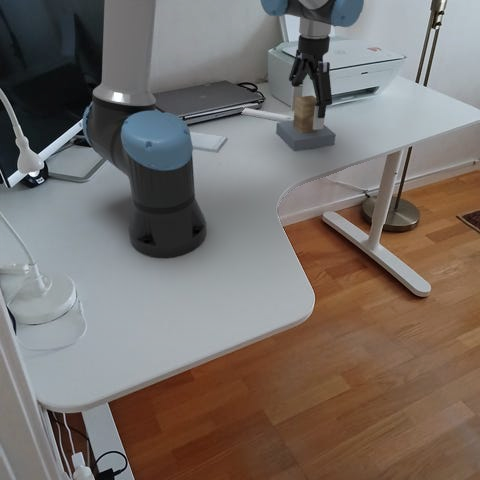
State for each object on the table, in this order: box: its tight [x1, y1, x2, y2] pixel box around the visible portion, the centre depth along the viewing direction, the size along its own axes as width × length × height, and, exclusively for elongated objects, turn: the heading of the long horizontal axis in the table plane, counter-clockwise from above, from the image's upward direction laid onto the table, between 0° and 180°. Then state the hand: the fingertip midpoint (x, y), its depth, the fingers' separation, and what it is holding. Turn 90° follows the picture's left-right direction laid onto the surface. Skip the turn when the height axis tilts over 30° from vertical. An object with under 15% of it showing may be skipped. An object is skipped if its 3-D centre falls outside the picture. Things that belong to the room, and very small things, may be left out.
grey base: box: [275, 119, 336, 152], centre depth 124 cm, size 12×12×3 cm
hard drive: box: [190, 131, 228, 154], centre depth 123 cm, size 2×8×12 cm
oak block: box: [293, 95, 318, 133], centre depth 121 cm, size 5×5×8 cm
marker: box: [240, 107, 294, 122], centre depth 136 cm, size 18×2×2 cm, turn 65°
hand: (306, 118), depth 122 cm, fingers open, 13 cm apart
